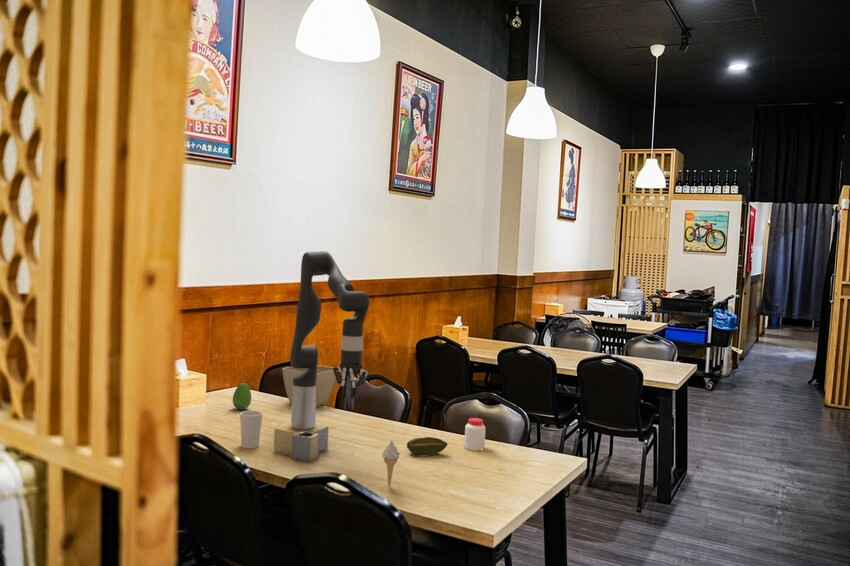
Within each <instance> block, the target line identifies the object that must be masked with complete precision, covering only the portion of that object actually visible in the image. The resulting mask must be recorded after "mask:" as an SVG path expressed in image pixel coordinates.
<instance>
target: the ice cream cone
mask: <svg viewBox="0 0 850 566" xmlns="http://www.w3.org/2000/svg"><path fill="white" fill-rule="evenodd" d="M400 454H401V453H400V452H399V451H398V448H397V447H396V445H395V444H394V442H393V440H392V439H391V440H390V442H389V444H388V445H387V446H386V448H385V449H384V450H383V451H382V453H381V455H382V458H383V462H384V463H385V464H386V468H387V469H386V471H387V486H388V487H389V486H390V487H391V483H392V477H393V472H394V467H395V465H396V464H397V463H398V461H399V458H400Z"/></svg>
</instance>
